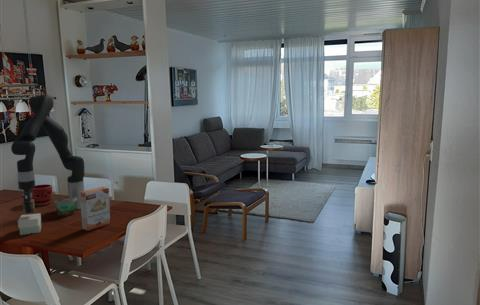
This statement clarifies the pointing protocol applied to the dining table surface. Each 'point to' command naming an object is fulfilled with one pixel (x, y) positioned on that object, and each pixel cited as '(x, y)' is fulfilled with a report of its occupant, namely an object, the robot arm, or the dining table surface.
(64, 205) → the food container
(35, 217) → the tower top
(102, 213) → the cracker box
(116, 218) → the dining table surface
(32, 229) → the tower base
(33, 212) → the walnut block
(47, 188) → the plant pot
